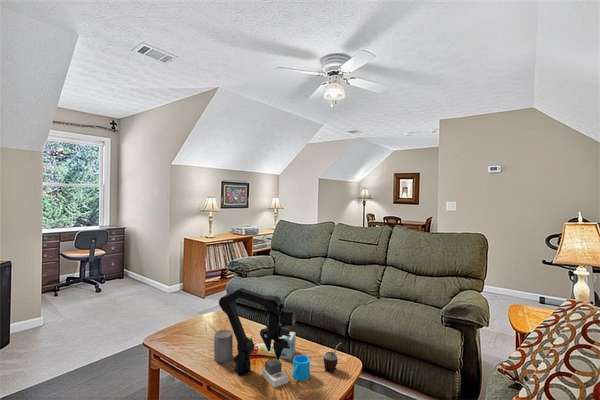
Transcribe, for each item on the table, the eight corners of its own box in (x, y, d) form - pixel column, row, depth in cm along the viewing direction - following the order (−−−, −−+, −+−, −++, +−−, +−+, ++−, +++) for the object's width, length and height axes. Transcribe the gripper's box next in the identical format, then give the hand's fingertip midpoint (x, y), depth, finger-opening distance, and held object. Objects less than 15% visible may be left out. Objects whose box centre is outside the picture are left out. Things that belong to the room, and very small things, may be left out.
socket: (273, 387, 144) (273, 379, 144) (262, 375, 154) (262, 367, 154) (288, 382, 148) (288, 375, 148) (275, 370, 158) (275, 363, 158)
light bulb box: (291, 360, 169) (291, 340, 169) (279, 358, 170) (279, 338, 170) (295, 350, 179) (295, 331, 179) (284, 349, 181) (284, 330, 181)
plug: (270, 380, 149) (270, 366, 149) (264, 374, 154) (264, 361, 153) (281, 376, 152) (281, 363, 152) (275, 371, 157) (276, 358, 157)
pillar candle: (223, 352, 176) (223, 325, 176) (236, 357, 171) (236, 329, 171) (210, 360, 168) (210, 332, 167) (223, 365, 163) (223, 336, 162)
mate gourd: (321, 367, 161) (321, 338, 161) (334, 364, 165) (334, 336, 165) (328, 375, 155) (328, 345, 154) (341, 372, 158) (342, 342, 158)
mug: (297, 369, 160) (298, 353, 160) (312, 373, 156) (312, 357, 156) (286, 381, 149) (286, 364, 149) (301, 386, 145) (301, 369, 145)
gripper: (298, 326, 149) (297, 359, 149) (279, 314, 165) (278, 343, 165) (277, 331, 143) (277, 366, 143) (259, 318, 159) (259, 349, 159)
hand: (273, 355), depth 153 cm, fingers open, 9 cm apart
